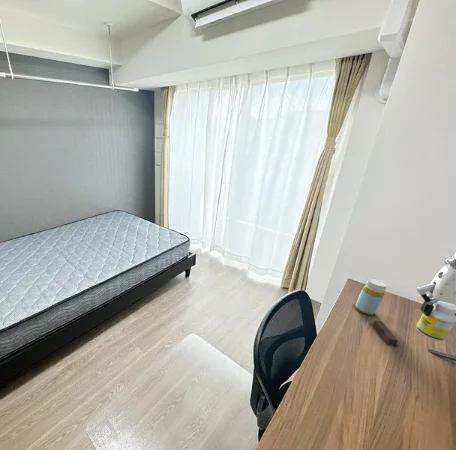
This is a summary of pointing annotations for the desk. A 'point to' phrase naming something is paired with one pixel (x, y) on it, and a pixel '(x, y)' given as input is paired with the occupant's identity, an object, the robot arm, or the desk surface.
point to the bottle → (371, 296)
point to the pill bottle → (438, 321)
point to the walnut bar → (385, 332)
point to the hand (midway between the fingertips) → (439, 316)
